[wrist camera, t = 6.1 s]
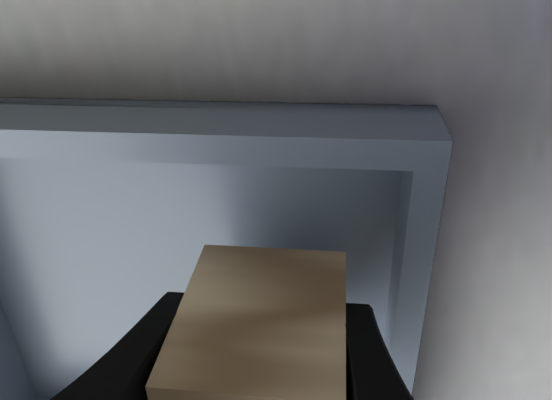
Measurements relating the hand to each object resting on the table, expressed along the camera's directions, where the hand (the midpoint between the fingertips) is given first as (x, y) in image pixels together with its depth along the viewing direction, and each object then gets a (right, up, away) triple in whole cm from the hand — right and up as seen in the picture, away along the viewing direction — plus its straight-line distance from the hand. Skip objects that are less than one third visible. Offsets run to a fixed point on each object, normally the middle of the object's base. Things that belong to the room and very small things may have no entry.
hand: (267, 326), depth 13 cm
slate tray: (-3, 0, +5) cm, 6 cm away
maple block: (0, 0, +2) cm, 2 cm away
